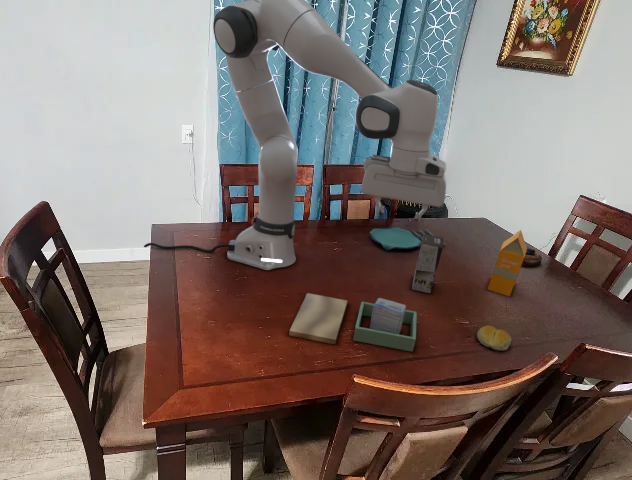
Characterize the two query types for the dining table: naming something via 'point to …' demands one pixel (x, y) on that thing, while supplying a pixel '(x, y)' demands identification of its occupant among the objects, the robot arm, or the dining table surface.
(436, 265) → the coffee box
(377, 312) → the medicine box
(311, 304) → the board
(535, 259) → the pastry
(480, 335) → the bread roll
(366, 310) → the bin
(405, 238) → the teal flat piece
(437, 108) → the robot arm
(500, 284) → the orange juice
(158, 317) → the dining table surface
